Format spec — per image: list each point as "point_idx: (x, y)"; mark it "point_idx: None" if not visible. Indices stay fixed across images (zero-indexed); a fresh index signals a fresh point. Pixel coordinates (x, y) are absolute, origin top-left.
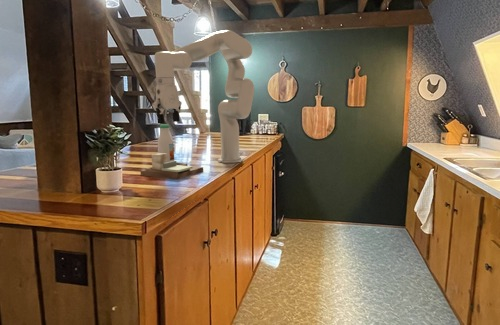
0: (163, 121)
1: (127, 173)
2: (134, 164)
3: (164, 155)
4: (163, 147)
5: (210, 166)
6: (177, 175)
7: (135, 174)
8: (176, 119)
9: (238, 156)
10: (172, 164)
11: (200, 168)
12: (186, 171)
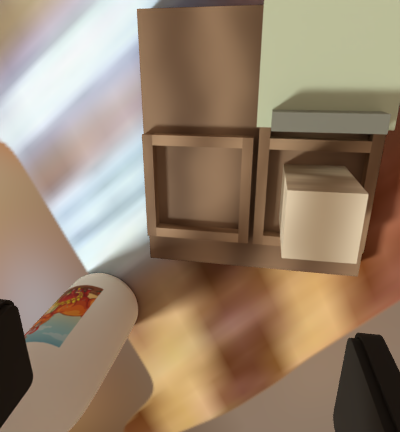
0: (386, 356)
1: (340, 337)
2: (165, 418)
3: (312, 188)
4: (95, 355)
5: (16, 79)
6: None
7: (347, 293)
8: (3, 349)
9: None
10: (313, 111)
11: (164, 9)
12: None
